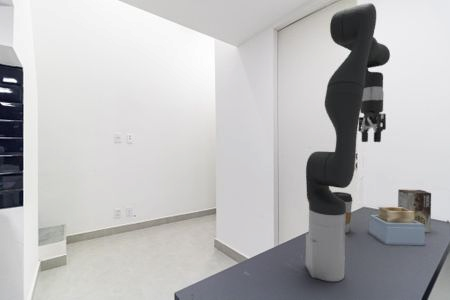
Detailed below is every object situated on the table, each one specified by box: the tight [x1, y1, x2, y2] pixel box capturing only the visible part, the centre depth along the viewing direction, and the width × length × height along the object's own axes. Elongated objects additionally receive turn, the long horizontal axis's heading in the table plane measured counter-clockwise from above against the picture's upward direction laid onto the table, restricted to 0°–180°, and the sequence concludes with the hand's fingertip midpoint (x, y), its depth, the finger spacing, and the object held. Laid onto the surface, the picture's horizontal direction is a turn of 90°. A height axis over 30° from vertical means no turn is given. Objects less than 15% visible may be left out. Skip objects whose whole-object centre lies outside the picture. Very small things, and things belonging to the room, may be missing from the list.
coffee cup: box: [331, 191, 353, 234], centre depth 96 cm, size 8×8×15 cm
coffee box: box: [397, 189, 432, 233], centre depth 98 cm, size 9×6×16 cm
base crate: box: [368, 214, 426, 246], centre depth 88 cm, size 13×11×7 cm
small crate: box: [377, 206, 414, 223], centre depth 88 cm, size 9×6×5 cm, turn 87°
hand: (370, 142), depth 92 cm, fingers open, 8 cm apart
